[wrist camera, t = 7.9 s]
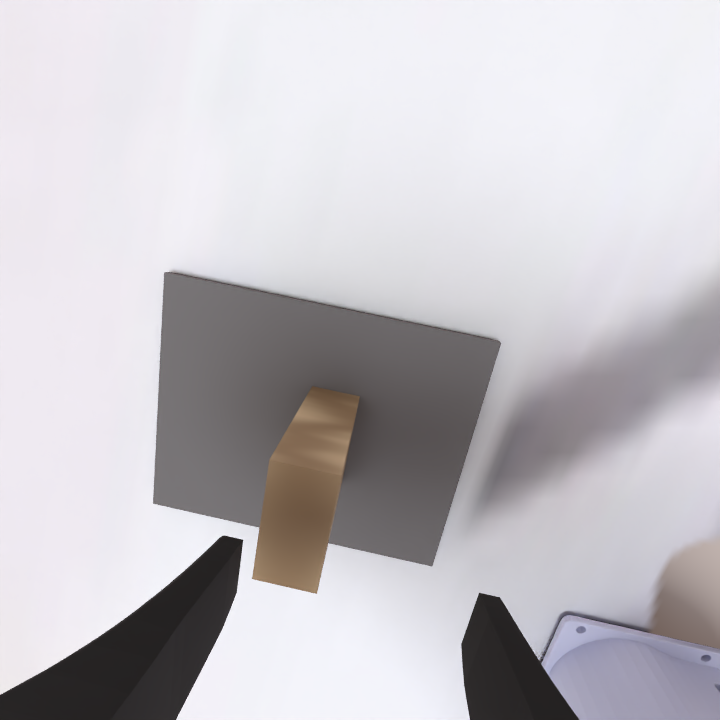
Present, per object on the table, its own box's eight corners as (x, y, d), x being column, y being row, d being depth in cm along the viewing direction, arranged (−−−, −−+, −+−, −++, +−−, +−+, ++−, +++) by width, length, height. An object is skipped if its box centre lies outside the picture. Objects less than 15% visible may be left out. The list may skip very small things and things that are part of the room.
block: (360, 396, 20) (341, 475, 13) (341, 482, 21) (316, 593, 14) (312, 386, 20) (269, 459, 13) (297, 472, 21) (252, 578, 15)
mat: (498, 340, 19) (500, 343, 18) (431, 560, 23) (432, 566, 22) (168, 272, 19) (164, 272, 19) (157, 499, 23) (153, 503, 23)
